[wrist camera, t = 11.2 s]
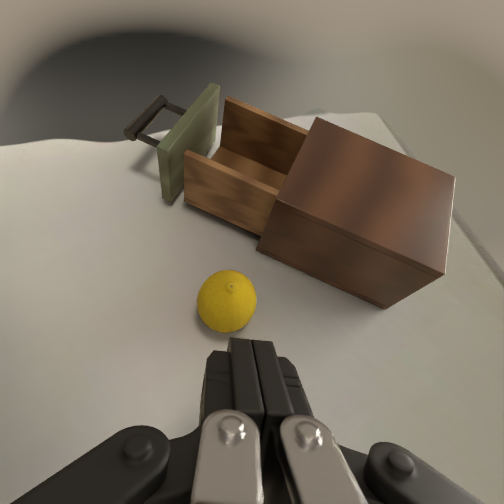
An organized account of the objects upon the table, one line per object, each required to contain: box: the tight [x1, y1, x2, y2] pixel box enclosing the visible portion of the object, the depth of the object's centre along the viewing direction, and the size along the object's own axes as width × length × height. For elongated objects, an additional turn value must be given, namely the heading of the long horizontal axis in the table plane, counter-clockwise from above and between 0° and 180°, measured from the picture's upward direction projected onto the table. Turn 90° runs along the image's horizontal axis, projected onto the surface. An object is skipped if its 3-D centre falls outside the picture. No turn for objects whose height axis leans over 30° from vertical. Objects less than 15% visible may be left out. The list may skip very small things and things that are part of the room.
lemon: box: [197, 270, 256, 333], centre depth 31 cm, size 6×6×8 cm
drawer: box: [124, 83, 309, 236], centre depth 38 cm, size 21×12×8 cm, turn 67°
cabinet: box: [256, 117, 455, 309], centre depth 37 cm, size 17×13×10 cm
